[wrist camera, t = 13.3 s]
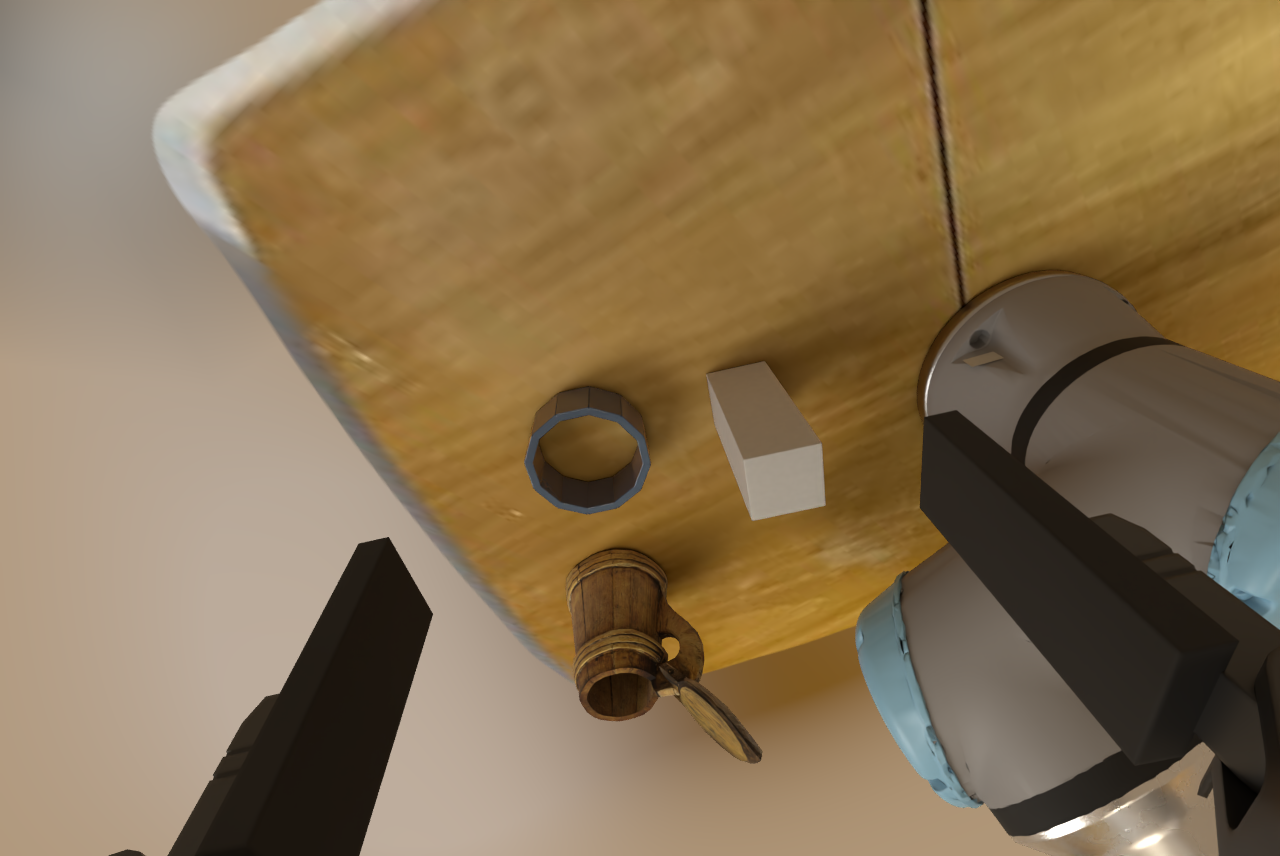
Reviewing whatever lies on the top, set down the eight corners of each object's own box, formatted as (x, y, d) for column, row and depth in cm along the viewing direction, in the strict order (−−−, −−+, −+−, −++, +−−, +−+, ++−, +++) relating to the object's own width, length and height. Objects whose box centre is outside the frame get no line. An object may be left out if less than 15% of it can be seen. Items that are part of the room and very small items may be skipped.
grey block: (764, 360, 41) (822, 442, 31) (770, 412, 44) (826, 505, 33) (706, 373, 42) (743, 459, 31) (714, 424, 44) (752, 521, 33)
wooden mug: (723, 593, 53) (777, 797, 37) (585, 631, 54) (581, 844, 38) (699, 522, 48) (750, 717, 33) (550, 565, 49) (530, 774, 34)
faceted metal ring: (632, 376, 41) (635, 396, 38) (655, 473, 46) (659, 499, 43) (515, 402, 42) (509, 424, 39) (549, 496, 46) (546, 523, 43)
